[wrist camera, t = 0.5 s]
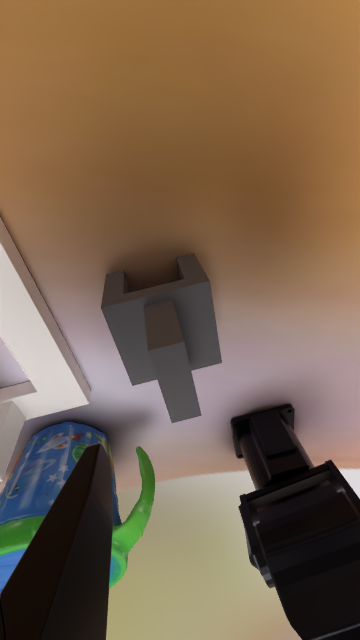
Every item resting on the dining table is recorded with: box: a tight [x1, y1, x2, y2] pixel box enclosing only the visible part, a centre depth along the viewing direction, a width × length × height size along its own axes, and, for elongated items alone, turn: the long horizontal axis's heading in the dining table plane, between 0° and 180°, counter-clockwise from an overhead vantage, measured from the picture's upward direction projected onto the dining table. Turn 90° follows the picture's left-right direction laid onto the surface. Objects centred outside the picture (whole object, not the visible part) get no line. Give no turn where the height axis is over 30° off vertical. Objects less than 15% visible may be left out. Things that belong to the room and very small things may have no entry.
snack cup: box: [0, 422, 155, 593], centre depth 23 cm, size 16×10×10 cm
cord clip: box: [101, 254, 222, 423], centre depth 17 cm, size 6×6×8 cm
